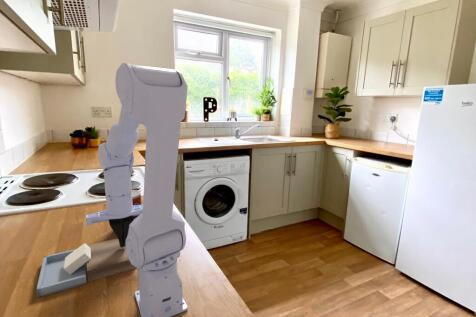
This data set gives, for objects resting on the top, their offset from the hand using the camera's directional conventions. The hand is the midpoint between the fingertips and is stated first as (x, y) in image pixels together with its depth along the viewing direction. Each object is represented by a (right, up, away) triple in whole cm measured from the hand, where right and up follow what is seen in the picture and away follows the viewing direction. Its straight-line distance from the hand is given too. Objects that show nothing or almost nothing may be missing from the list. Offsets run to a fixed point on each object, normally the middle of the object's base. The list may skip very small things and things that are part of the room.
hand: (122, 245), depth 64 cm
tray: (-11, -4, -6) cm, 13 cm away
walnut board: (-3, -4, -1) cm, 5 cm away
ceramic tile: (-8, -2, -4) cm, 9 cm away
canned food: (-5, 0, +17) cm, 18 cm away
